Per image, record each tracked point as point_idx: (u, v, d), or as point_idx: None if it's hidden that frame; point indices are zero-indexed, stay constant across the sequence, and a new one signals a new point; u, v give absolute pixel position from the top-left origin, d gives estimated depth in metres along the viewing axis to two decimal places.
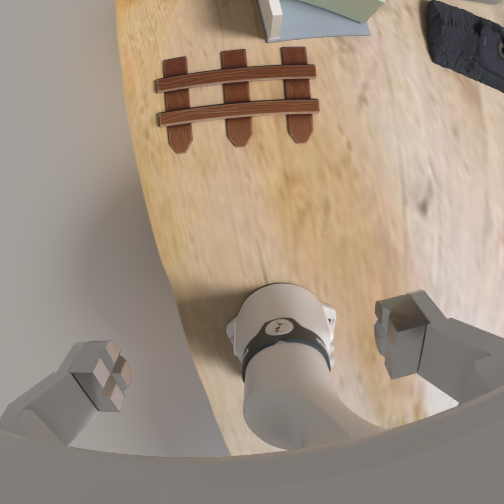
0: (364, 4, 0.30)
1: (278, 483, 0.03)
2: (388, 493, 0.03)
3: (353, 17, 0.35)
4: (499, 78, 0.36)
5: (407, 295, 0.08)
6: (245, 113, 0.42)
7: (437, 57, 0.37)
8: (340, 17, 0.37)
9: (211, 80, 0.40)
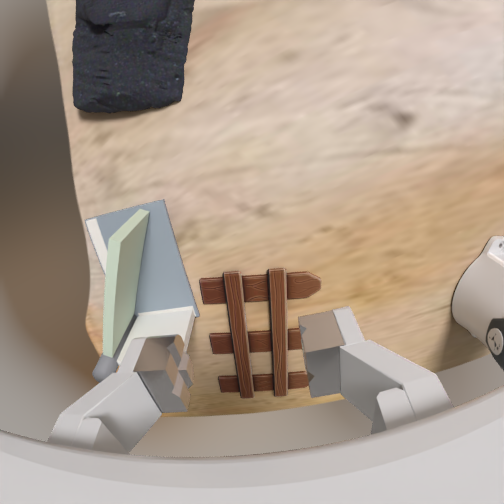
0: (128, 248, 0.30)
1: (278, 483, 0.03)
2: (388, 493, 0.03)
3: (144, 229, 0.35)
4: None
5: (330, 312, 0.08)
6: (284, 338, 0.42)
7: (171, 95, 0.30)
8: (147, 238, 0.37)
9: (246, 364, 0.44)
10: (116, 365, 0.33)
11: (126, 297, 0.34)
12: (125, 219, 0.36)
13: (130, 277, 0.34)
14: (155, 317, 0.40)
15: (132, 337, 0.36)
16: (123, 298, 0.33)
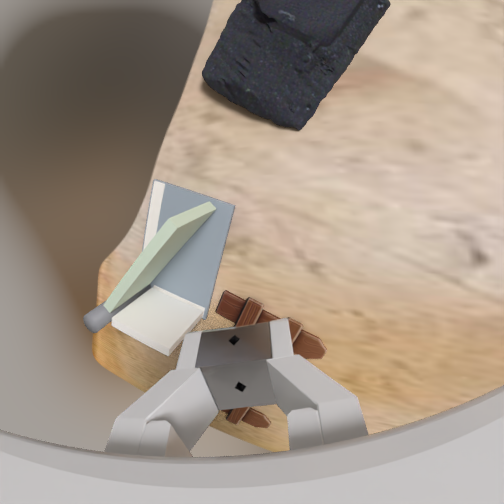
0: (180, 233, 0.31)
1: (278, 483, 0.03)
2: (388, 493, 0.03)
3: (203, 221, 0.36)
4: (358, 12, 0.24)
5: (266, 323, 0.08)
6: None
7: (294, 120, 0.30)
8: (200, 230, 0.38)
9: None
10: (109, 320, 0.34)
11: (152, 270, 0.35)
12: (191, 201, 0.37)
13: (166, 256, 0.35)
14: (167, 298, 0.41)
15: (137, 304, 0.38)
16: (150, 270, 0.34)
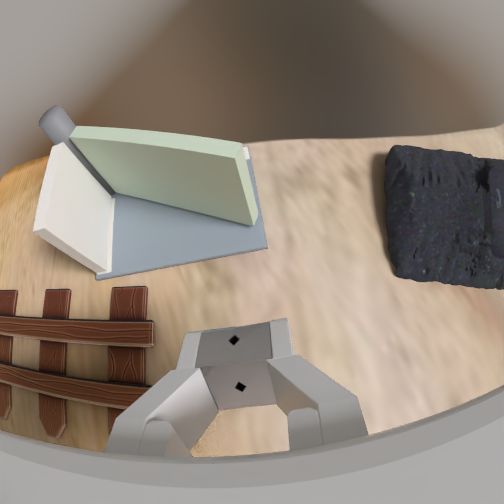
0: (215, 178, 0.21)
1: (278, 483, 0.03)
2: (388, 493, 0.03)
3: (230, 216, 0.26)
4: None
5: (266, 323, 0.08)
6: (53, 391, 0.23)
7: (405, 263, 0.23)
8: (213, 221, 0.27)
9: (26, 332, 0.25)
10: (57, 141, 0.22)
11: (142, 174, 0.24)
12: None
13: (168, 184, 0.24)
14: (105, 217, 0.28)
15: (86, 177, 0.25)
16: (142, 166, 0.23)
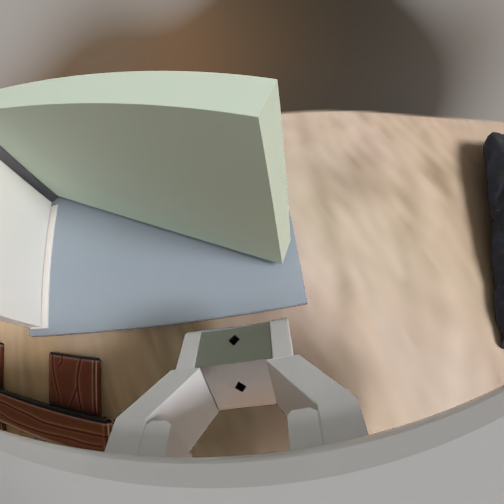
0: (205, 176, 0.09)
1: (278, 483, 0.03)
2: (388, 493, 0.03)
3: (238, 245, 0.14)
4: None
5: (266, 323, 0.08)
6: None
7: None
8: (208, 250, 0.15)
9: None
10: None
11: (73, 168, 0.12)
12: None
13: (117, 185, 0.12)
14: (37, 239, 0.16)
15: (2, 176, 0.13)
16: (67, 154, 0.10)
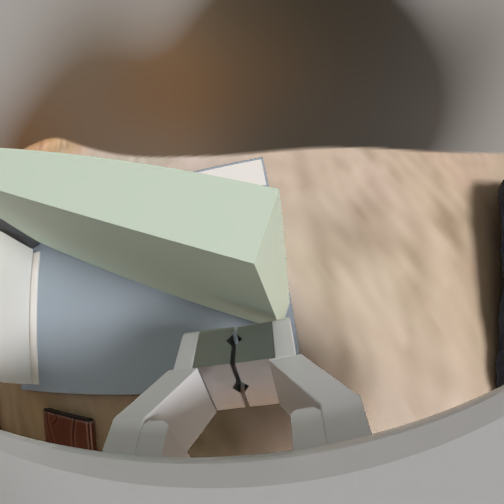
0: (191, 278, 0.07)
1: (278, 483, 0.03)
2: (388, 493, 0.03)
3: (233, 313, 0.12)
4: None
5: (268, 323, 0.08)
6: None
7: None
8: (198, 318, 0.14)
9: None
10: None
11: (46, 234, 0.10)
12: None
13: (96, 256, 0.10)
14: (20, 293, 0.14)
15: None
16: (37, 225, 0.09)
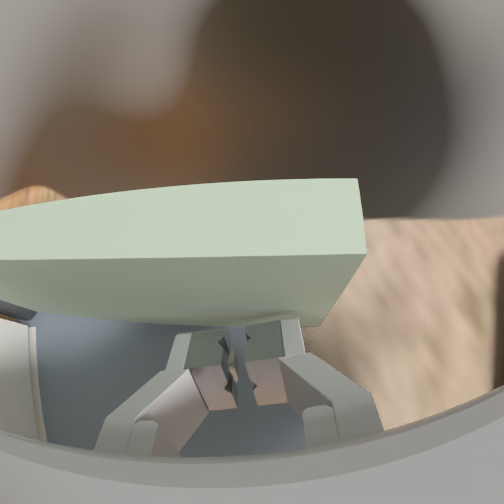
0: (254, 297, 0.07)
1: (278, 483, 0.03)
2: (388, 493, 0.03)
3: None
4: None
5: (277, 322, 0.08)
6: None
7: None
8: (210, 419, 0.12)
9: None
10: None
11: (55, 299, 0.09)
12: None
13: (119, 308, 0.10)
14: (20, 376, 0.13)
15: None
16: (46, 292, 0.08)
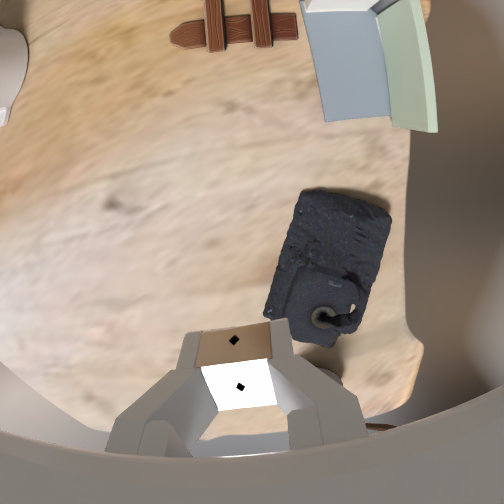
0: (414, 112, 0.28)
1: (278, 483, 0.03)
2: (388, 493, 0.03)
3: (393, 111, 0.33)
4: (284, 300, 0.43)
5: (266, 323, 0.08)
6: None
7: (308, 199, 0.38)
8: (345, 86, 0.33)
9: None
10: None
11: (401, 52, 0.26)
12: (365, 108, 0.34)
13: (401, 72, 0.28)
14: (348, 6, 0.27)
15: None
16: (406, 56, 0.25)
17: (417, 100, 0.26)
